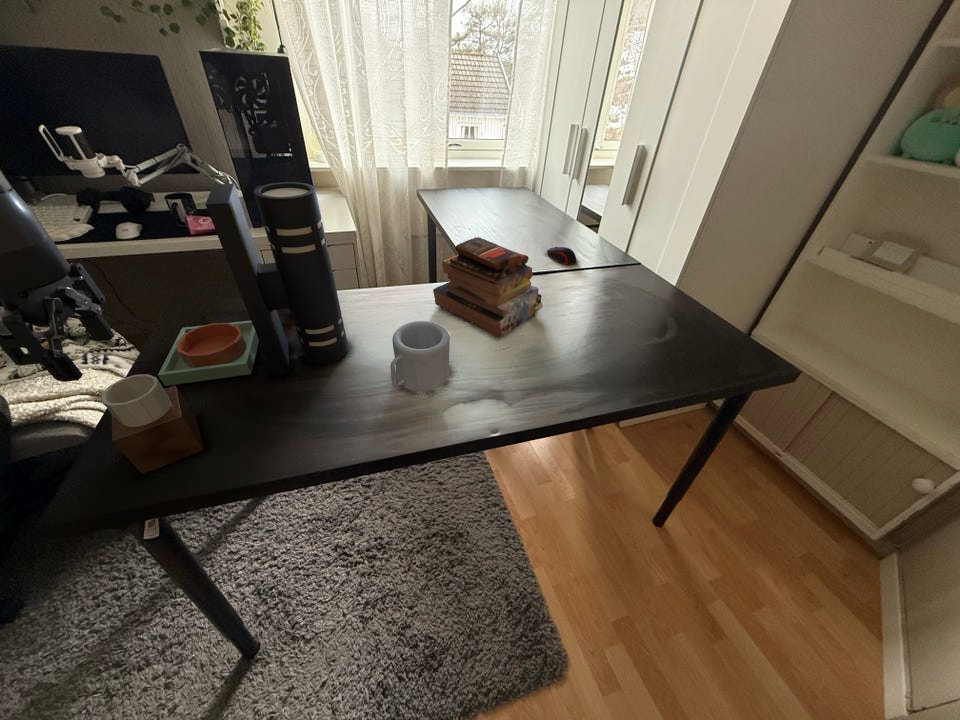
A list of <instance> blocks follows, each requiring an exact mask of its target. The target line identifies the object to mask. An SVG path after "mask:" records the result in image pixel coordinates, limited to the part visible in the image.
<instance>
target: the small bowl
mask: <svg viewBox="0 0 960 720" xmlns="http://www.w3.org/2000/svg"><path fill="white" fill-rule="evenodd" d="M164 389H165V388H164V387H163V385H162V384H161V382H160V381H159V379H158V378H157V377H156V376H154V375H151V374H148V373H145V374H133V375H130V376H127V377H124V378H121V379H119V380H117V381H115V382H114V383H112V384H109V386H107V387H106V388H105V389H104V391H103V392H102V393H101V395H100V396H101V397H100V398H101V403H102V404H103V405H104V406H105V408H106V409H107V410H108V411H109V412H110V414H111V416H112V415H113V416H114V417H115V418H116V419H117V421H119V422H120V423H121V424H122V425H124V426H127V427H138V426H143V425H146V424H149V423H152V422H154V421H156V420H158V419H159V418H161V417H162V416H164V415H165V414H166V413H167V412H168V410H169V409H170V407H171V400H170V399H169V396H168V394H167V393H166V391H165V390H164Z"/></svg>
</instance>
